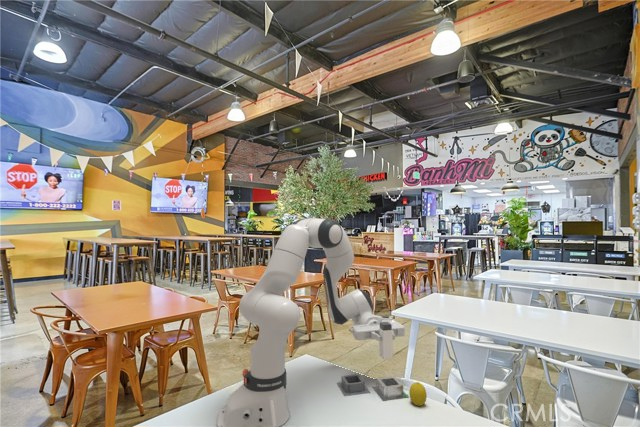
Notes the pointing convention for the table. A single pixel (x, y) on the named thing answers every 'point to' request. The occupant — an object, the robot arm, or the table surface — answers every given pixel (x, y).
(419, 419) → the table surface
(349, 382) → the holster
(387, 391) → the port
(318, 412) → the table surface
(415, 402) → the lemon
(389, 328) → the plug
